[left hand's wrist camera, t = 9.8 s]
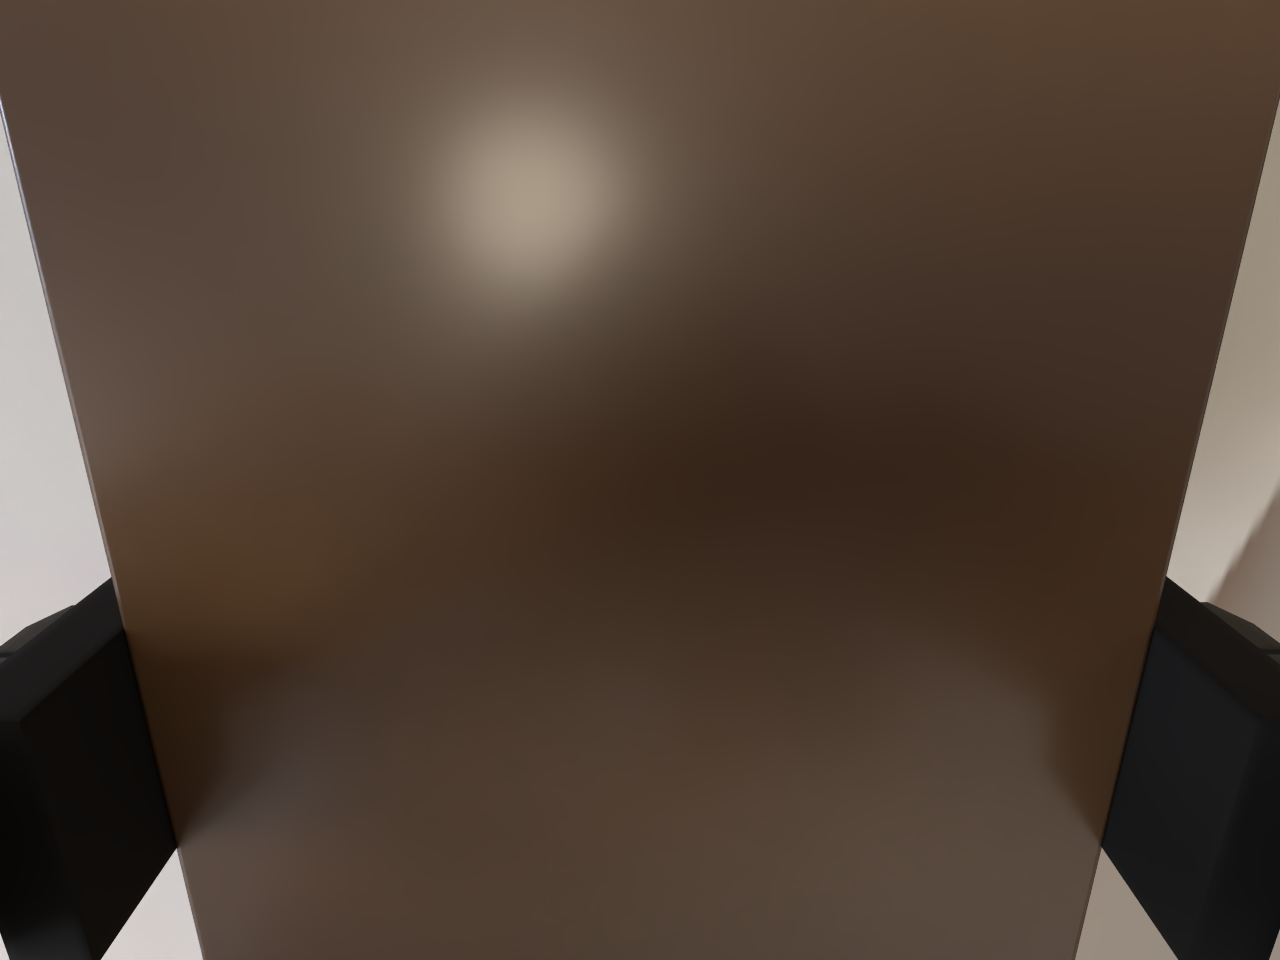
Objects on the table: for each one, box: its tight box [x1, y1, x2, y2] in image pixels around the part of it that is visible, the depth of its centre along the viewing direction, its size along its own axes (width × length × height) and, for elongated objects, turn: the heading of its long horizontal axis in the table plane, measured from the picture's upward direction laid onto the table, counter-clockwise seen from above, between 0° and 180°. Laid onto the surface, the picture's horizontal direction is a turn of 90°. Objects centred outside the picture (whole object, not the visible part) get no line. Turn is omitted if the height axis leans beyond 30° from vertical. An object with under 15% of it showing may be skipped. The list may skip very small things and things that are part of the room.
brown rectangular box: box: [0, 0, 1280, 960], centre depth 11 cm, size 19×10×10 cm, turn 0°
